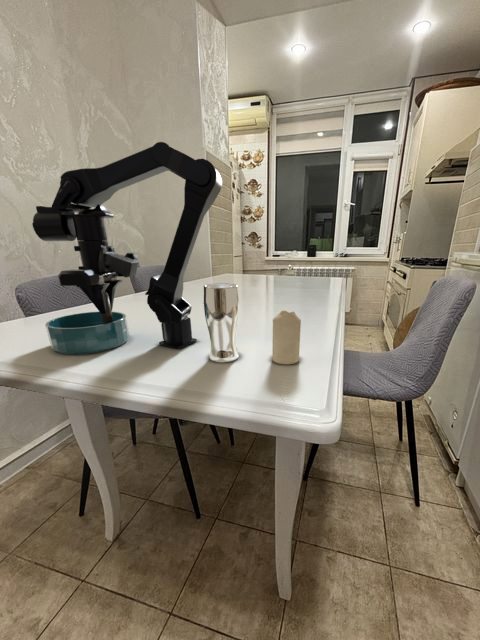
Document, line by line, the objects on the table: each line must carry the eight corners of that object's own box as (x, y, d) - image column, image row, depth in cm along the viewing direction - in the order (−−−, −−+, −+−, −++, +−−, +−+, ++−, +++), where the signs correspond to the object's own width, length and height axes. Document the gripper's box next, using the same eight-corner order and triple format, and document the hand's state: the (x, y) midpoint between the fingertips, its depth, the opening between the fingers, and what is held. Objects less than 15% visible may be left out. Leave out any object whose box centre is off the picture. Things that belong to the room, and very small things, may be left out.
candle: (268, 356, 61) (268, 310, 58) (290, 353, 63) (292, 308, 60) (279, 366, 57) (280, 316, 53) (303, 362, 59) (306, 313, 55)
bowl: (143, 339, 73) (140, 315, 71) (79, 360, 60) (72, 332, 57) (103, 330, 80) (99, 308, 78) (37, 347, 67) (30, 322, 65)
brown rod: (101, 341, 68) (90, 292, 64) (107, 337, 71) (98, 289, 67) (115, 341, 68) (106, 292, 64) (121, 337, 71) (113, 289, 67)
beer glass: (235, 364, 58) (232, 288, 52) (202, 361, 59) (196, 287, 54) (244, 352, 64) (242, 283, 59) (214, 350, 65) (210, 282, 60)
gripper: (106, 239, 53) (121, 322, 58) (147, 241, 71) (155, 304, 76) (47, 240, 53) (67, 322, 59) (102, 241, 71) (114, 305, 76)
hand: (106, 312), depth 67 cm, fingers closed on brown rod, 2 cm apart
